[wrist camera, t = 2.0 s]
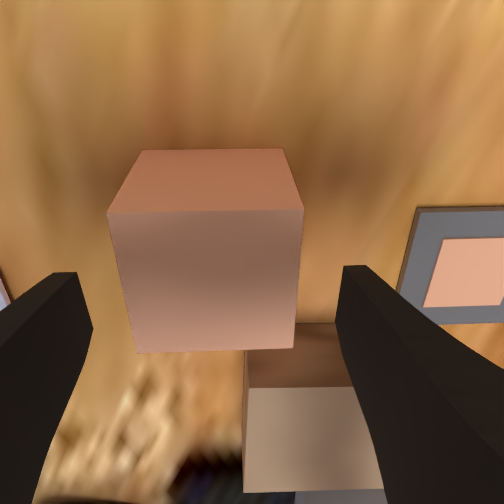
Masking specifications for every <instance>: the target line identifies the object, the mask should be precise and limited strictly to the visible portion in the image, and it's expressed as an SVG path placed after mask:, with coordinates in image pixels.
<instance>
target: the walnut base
mask: <svg viewBox="0 0 504 504" xmlns="http://www.w3.org/2000/svg"><path fill="white" fill-rule="evenodd" d="M242 459H243V493H255V492H287V491H319V490H351V489H383V488H384V486H383V482H382V478H381V474H380V470H379V466H378V462H377V458H376V454H375V450H374V446H373V442H372V439H371V436H370V433H369V430H368V426H367V424H366V421H365V418H364V415H363V412H362V410H361V407H360V404H359V401H358V398H357V396H356V393H355V390H354V387H353V385H352V382H351V379H350V376H349V373H348V370H347V367H346V365H345V362H344V359H343V356H342V352H341V348H340V343H339V339H338V334H337V329H336V324H335V323H295V329H294V342H293V348H282V349H253V350H245V352H244V377H243V402H242Z"/></svg>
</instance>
